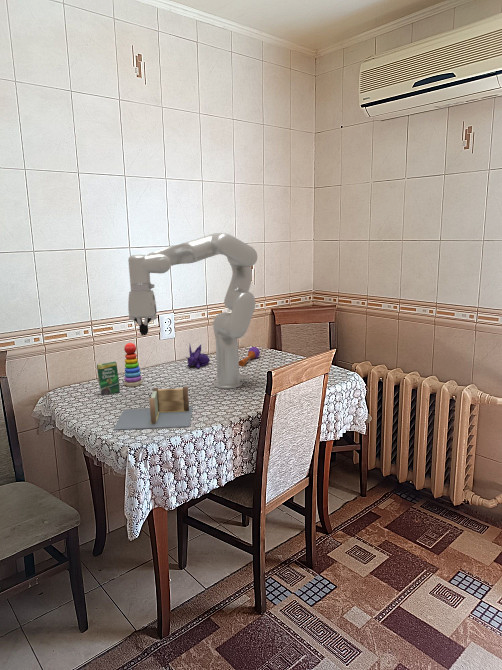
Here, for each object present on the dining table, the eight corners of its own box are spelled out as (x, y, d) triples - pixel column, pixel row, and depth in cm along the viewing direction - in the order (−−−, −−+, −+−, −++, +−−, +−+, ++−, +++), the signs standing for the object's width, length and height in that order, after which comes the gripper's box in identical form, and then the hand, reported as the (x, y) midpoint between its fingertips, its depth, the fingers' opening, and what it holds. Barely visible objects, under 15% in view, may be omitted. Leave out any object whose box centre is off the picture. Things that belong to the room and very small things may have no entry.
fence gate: (154, 411, 184) (152, 389, 182) (159, 411, 184) (157, 389, 182) (150, 422, 173) (148, 399, 171) (155, 422, 173) (154, 399, 171)
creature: (178, 369, 240) (176, 345, 237) (202, 360, 255) (200, 337, 252) (192, 372, 235) (191, 347, 233) (215, 363, 250) (214, 339, 247)
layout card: (192, 407, 190) (192, 406, 189) (189, 426, 171) (189, 425, 171) (124, 410, 188) (124, 409, 188) (113, 430, 170) (113, 429, 170)
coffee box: (100, 395, 205) (97, 365, 202) (99, 393, 208) (96, 363, 205) (120, 392, 209) (117, 362, 206) (118, 390, 211) (116, 361, 208)
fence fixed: (189, 409, 186) (187, 386, 184) (188, 411, 185) (187, 387, 183) (155, 410, 186) (153, 387, 184) (154, 412, 184) (152, 389, 182)
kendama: (234, 358, 243) (249, 346, 260) (237, 370, 244) (252, 356, 262) (245, 357, 240) (260, 344, 258) (248, 368, 242) (262, 355, 259)
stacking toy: (146, 382, 222) (143, 341, 218) (136, 387, 214) (133, 345, 210) (130, 380, 224) (127, 340, 220) (120, 386, 217) (117, 344, 213)
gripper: (162, 286, 192) (165, 332, 196) (123, 287, 192) (127, 333, 196) (158, 288, 185) (161, 336, 189) (118, 289, 185) (122, 337, 189)
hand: (144, 334), depth 192 cm, fingers closed
